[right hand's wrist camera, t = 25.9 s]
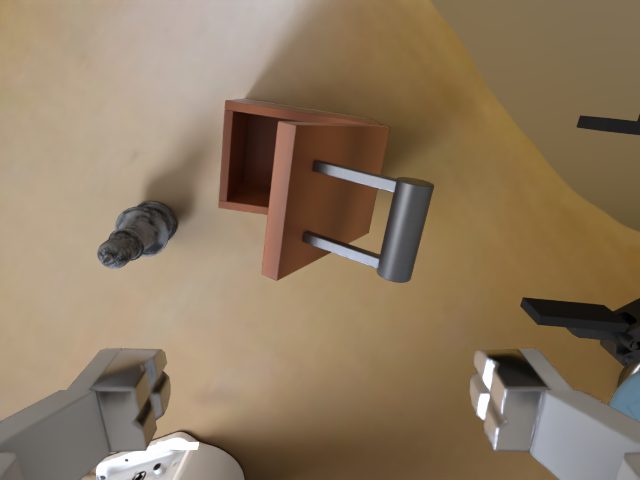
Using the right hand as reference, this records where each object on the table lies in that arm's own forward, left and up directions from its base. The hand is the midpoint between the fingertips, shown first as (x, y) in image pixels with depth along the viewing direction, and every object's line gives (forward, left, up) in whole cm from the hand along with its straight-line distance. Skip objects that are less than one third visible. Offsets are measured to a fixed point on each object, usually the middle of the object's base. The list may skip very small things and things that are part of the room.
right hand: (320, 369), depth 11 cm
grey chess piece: (-21, -3, -37) cm, 43 cm away
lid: (+1, 0, -21) cm, 21 cm away
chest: (-2, +1, -37) cm, 37 cm away
